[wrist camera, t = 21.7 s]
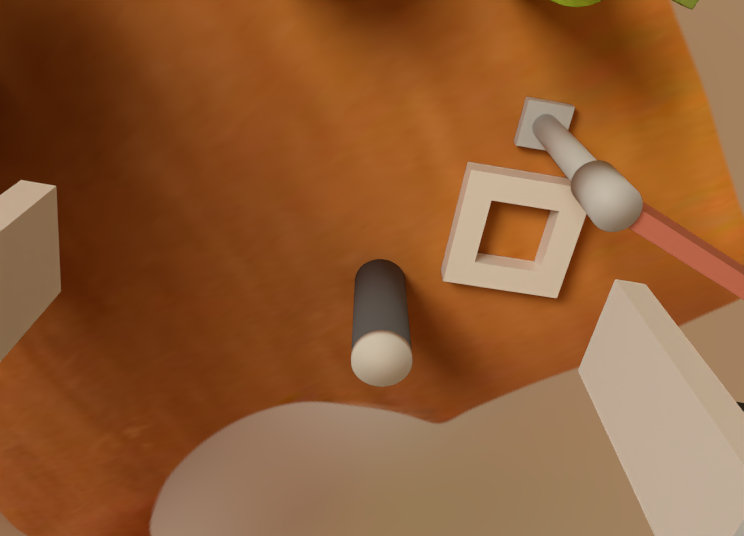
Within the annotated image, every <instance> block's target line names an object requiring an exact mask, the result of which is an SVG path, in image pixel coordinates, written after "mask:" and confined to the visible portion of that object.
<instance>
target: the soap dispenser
mask: <svg viewBox="0 0 744 536" xmlns="http://www.w3.org/2000/svg"><path fill="white" fill-rule="evenodd" d="M550 1H553V2H555V3H558V4H560V5H564V6H569V7H583V6H588V5H592V4H595V3H597V2H600V1H602V0H550ZM672 1H674V2H676V3H678V4H680V5H682V6H684V7H687V8H689V9H693V8H694V7H695V5H696V3H697V2H698V0H672Z"/></svg>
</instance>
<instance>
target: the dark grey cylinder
mask: <svg viewBox="0 0 744 536" xmlns="http://www.w3.org/2000/svg"><path fill="white" fill-rule="evenodd" d="M351 365H352V369H353V371H354V373H355V374H356V376H357V377H358V378H359V379H360V380H362V381H363V382H365V383H367V384H369V385H373V386H380V387H383V386H390V385H394V384H396V383H398V382H400V381H402V380H403V379H404V378H405V377H406V376H407V375H408V373H409V372H410V370H411V367H412V351H411V340H410V329H409V319H408V308H407V297H406V287H405V277H404V274H403V272H402V270H401V269H400V268H399V266H397V265H396V264H395V263H393V262H391V261H388V260H383V259H377V260H372V261H369V262H367V263H365V264H364V265H363V266H362V267H361V268H360V269H359V270H358V272H357V274H356V277H355V292H354V313H353V333H352V354H351Z"/></svg>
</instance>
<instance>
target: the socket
mask: <svg viewBox="0 0 744 536" xmlns="http://www.w3.org/2000/svg"><path fill="white" fill-rule="evenodd" d="M574 109H575V107H574V106H573V105H571V104H566V103H560V102H554V101H549V100H543V99H537V98H531V97H526V99H525V103H524V107H523V110H522V114H521V117H520V121H519V125H518V128H517V132H516V135H515V139H514V143H515V144H516V146H522V147H528V148H534V149H540V150H546V151H547V152H548V153H549V154H550V156H551V157H552V158H553V160H554V161H555V162H556V163H557V165H558V166H559V167H560V168H561V170H562V171H563V172H564V174H565V175H566V176H567V177H568V178H564V177H558V176H552V175H545V174H539V173H533V172H527V171H521V170H515V169H509V168H503V167H497V166H491V165H485V164H479V163H473V162H468V163H467V167H466V171H465V175H464V179H463V183H462V187H461V191H460V195H459V199H458V203H457V207H456V211H455V215H454V219H453V223H452V227H451V231H450V235H449V239H448V244H447V248H446V252H445V256H444V260H443V264H442V268H441V273H442V278H443V281H445V282H452V283H458V284H465V285H472V286H478V287H485V288H492V289H498V290H505V291H512V292H518V293H525V294H531V295H538V296H545V297H551V298H557V297H558V294H559V291H560V288H561V285H562V282H563V280H564V277H565V274H566V271H567V268H568V265H569V262H570V260H571V257H572V254H573V251H574V248H575V245H576V242H577V240H578V237H579V234H580V231H581V228H582V225H583V222H584V220H585V217H586V214H587V213H586V212H585V211H584V209H583V208H582V207H581V205H580V204H579V203H578V202H577V200H576V199H575V198H574V196H573V194H572V192H571V180H572V177H573V175H574V173H575V172H576V171H577V170H578V169H579V168H580V167H581V166H582V165H584V164H586V163H588V162H591V161H596V159H595V158H594V157H593V156H592V155H591V154H590V153H589V152H588V151H587V150H586V148H585V147H584V146H583V145H582V144H581V143H580V142H579V141H578V140H577V139H576V138H575V137H574V136H573V135H572V134H571V133H570V132H569V131H568V129H569V125H570V122H571V119H572V116H573V113H574ZM491 201H499V202H505V203H511V204H517V205H523V206H529V207H536V208H542V209H548V210H551V211H550V214H549V217H548V220H547V223H546V226H545V230H544V233H543V236H542V239H541V242H540V245H539V248H538V251H537V254H536V258H535V261H528V260H522V259H515V258H509V257H503V256H496V255H490V254H483V253H477V252H478V248H479V244H480V241H481V237H482V234H483V230H484V226H485V223H486V219H487V215H488V212H489V208H490V204H491Z"/></svg>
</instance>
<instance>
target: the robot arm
mask: <svg viewBox="0 0 744 536" xmlns="http://www.w3.org/2000/svg"><path fill="white" fill-rule="evenodd" d="M60 292H61V278H60V256H59V233H58V211H57V188H56V186H54V185H48V184H42V183H36V182H30V181H24V180H20V181H19V182H18V183H16V184H15V185H13V186H12V187H11V188H9V189H8V190H6V191H5V192H4V193H2V194H1V195H0V362H1V361H2V359H3V358H4V357H5V356H6V355H7V354H8V352H9V351H10V350H11V349H12V348H13V347H14V345H15V344H16V343H17V342H18V341H19V340H20V338H21V337H22V336H23V335H24V334H25V333H26V331H27V330H28V329H29V328H30V327H31V326H32V324H33V323H34V322H35V321H36V320H37V319H38V318H39V316H40V315H41V314H42V313H43V312H44V311H45V309H46V308H47V307H48V306H49V305H50V304H51V302H52V301H53V300H54V299H55V298H56V297H57V295H58V294H59V293H60ZM578 372H579V374H580V376H581V378H582V380H583V383H584V385H585V387H586V389H587V391H588V393H589V395H590V397H591V400H592V402H593V404H594V406H595V409H596V411H597V413H598V415H599V417H600V419H601V421H602V423H603V426H604V428H605V430H606V432H607V434H608V436H609V439H610V441H611V443H612V445H613V447H614V449H615V452H616V454H617V456H618V458H619V460H620V462H621V464H622V467H623V469H624V471H625V473H626V475H627V477H628V479H629V482H630V484H631V486H632V488H633V490H634V492H635V495H636V497H637V499H638V501H639V503H640V505H641V508H642V510H643V512H644V514H645V516H646V518H647V521H648V523H649V525H650V527H651V529H652V531H653V533H654V535H655V536H744V403H740V402H736V401H735V400H734V399H733V398H732V396H731V395H730V394H729V392H728V391H727V390H726V388H725V387H724V386H723V385H722V383H721V382H720V381H719V379H718V378H717V377H716V375H715V374H714V373H713V372H712V370H711V369H710V368H709V366H708V365H707V364H706V362H705V361H704V360H703V358H702V357H701V356H700V355H699V353H698V352H697V351H696V349H695V348H694V347H693V345H692V344H691V343H690V342H689V340H688V339H687V338H686V336H685V335H684V334H683V332H682V331H681V330H680V329H679V327H678V326H677V325H676V323H675V322H674V321H673V319H672V318H671V317H670V315H669V314H668V313H667V312H666V310H665V309H664V308H663V306H662V305H661V304H660V302H659V301H658V300H657V299H656V297H655V296H654V295H653V293H652V292H651V291H650V289H649V288H648V287H647V285H646V284H642V283H636V282H630V281H624V280H618V279H615V281H614V283H613V286H612V288H611V291H610V293H609V296H608V298H607V301H606V303H605V306H604V308H603V310H602V313H601V315H600V318H599V320H598V323H597V325H596V328H595V330H594V333H593V335H592V337H591V340H590V342H589V345H588V347H587V350H586V352H585V355H584V357H583V360H582V362H581V365H580V367H579V369H578Z"/></svg>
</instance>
